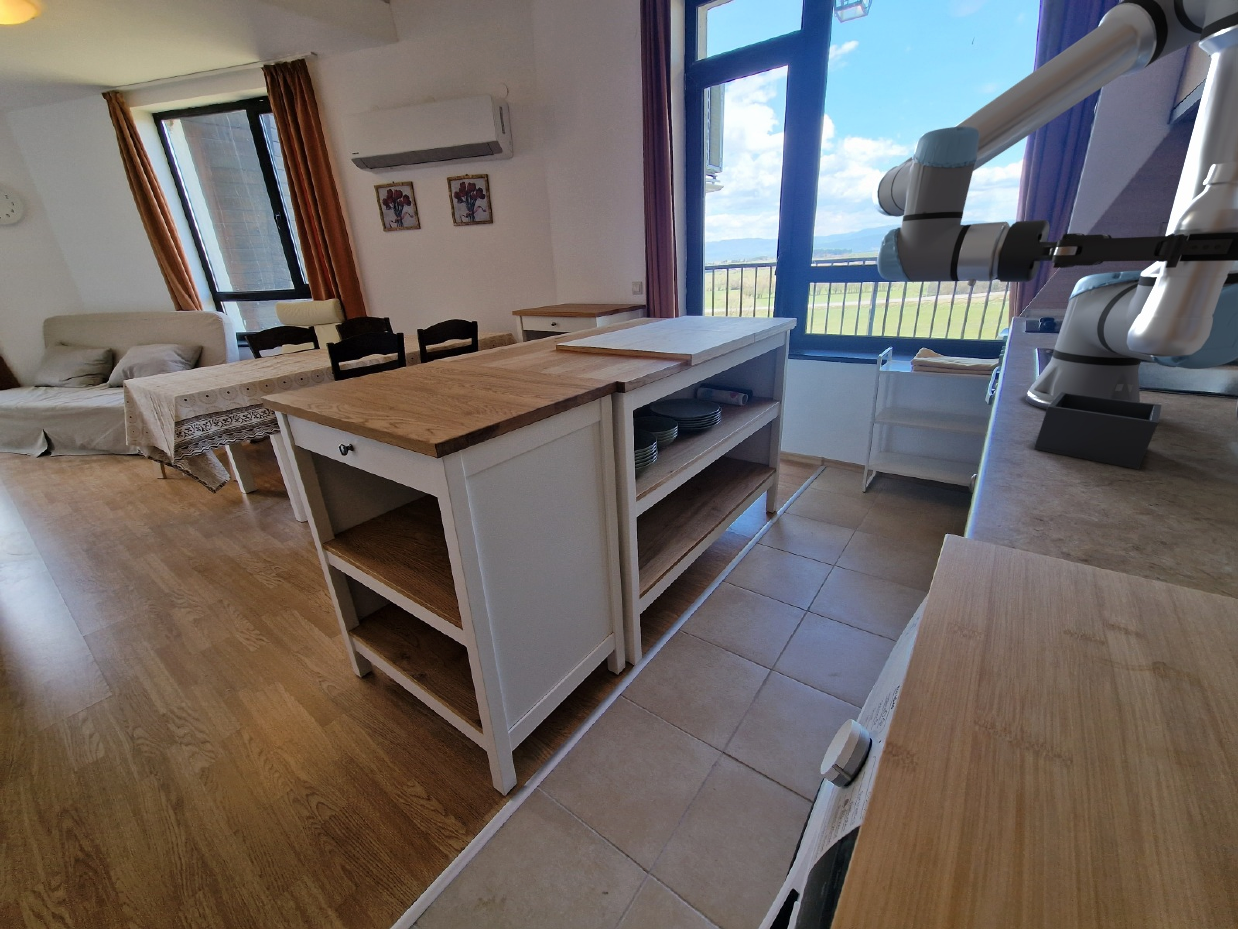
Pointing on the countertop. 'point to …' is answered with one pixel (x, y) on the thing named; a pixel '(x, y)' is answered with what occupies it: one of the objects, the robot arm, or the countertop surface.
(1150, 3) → the robot arm
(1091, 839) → the countertop surface
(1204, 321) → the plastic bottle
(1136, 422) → the bin
